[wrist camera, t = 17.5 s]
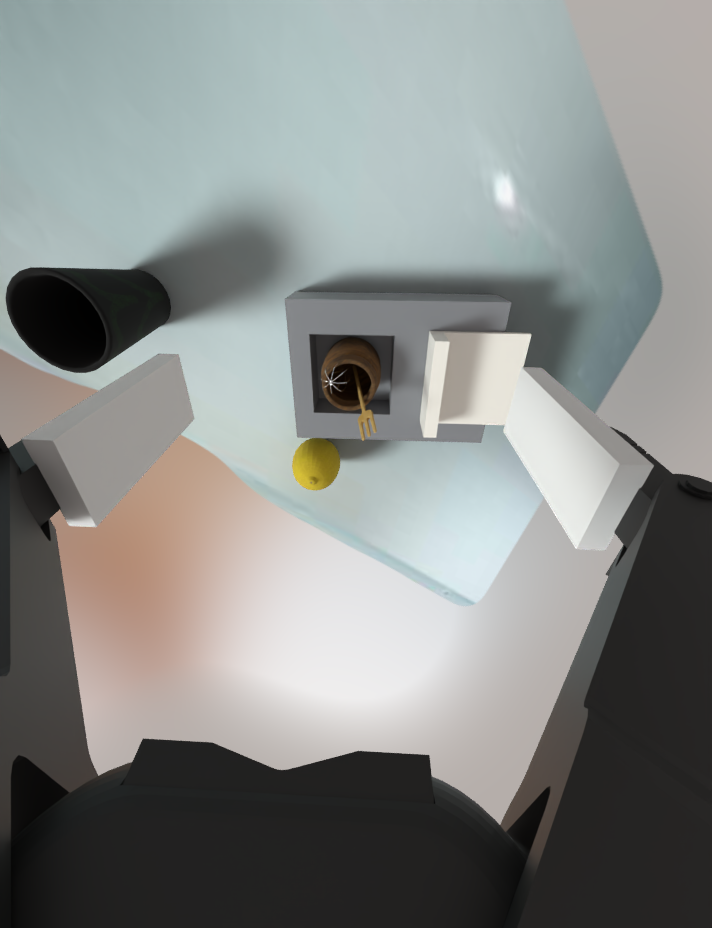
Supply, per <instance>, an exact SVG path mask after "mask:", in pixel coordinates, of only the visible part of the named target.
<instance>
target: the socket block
mask: <svg viewBox="0 0 712 928" xmlns="http://www.w3.org/2000/svg"><path fill="white" fill-rule="evenodd" d="M511 303H512V302H510V301H508V300H506V299H504V298H502V297H500V296H498V295H496V294H435V293H364V292H294V293H293V294H291V295H290V296H288V297H287V298H286V299H285V306H286V317H287V329H288V340H289V351H290V362H291V373H292V384H293V396H294V407H295V418H296V429H297V437H301V438H336V439H362V438H361V433H360V429H359V424H358V418H359V416H360V415H361V414H362V409H358V410H353V411H347V410H342V409H339V408H337V407H335V406H334V405H332V404H331V403H330V402H329V401H328V400H327V398H326V396H325V394H324V392H323V388H322V380H321V371H322V366H323V363H324V360H325V358H326V355H327V353H328V351H329V350H330V348H331V347H332V346H333V345H334V344H335V343H336V342H338V341H339V340H341V339H344V338H348V337H357V338H361V339H364V340H366V341H367V342H369V343H370V344H371V345H372V346H373V347H374V348H375V350H376V351H377V353H378V355H379V359H380V364H381V379H380V384H379V387H378V389H377V391H376V393H375V395H374V397H373V398H372V400H371V401H370V402H369V403H368V404H367V405H366V406H365V408H366V411H367V410H371V411H372V412H373V416H374V420H375V425H376V429H377V432H376V433H374V432H373V428H372V425H371V421H370V419H369V420H368V422H369V427H370V432H371V436H370V437H368V435H367V431H366V427H365V423H363V428H364V434H365V439H370V440H405V441H439V442H474V443H481V441H482V437H483V432H484V427H485V425H481V424H444V423H438V428H437V435H436V438H425V437H423V433H422V429H421V424H420V412H421V403H422V394H423V385H424V376H425V367H426V358H427V349H428V340H429V331H459V332H505V331H506V326H507V321H508V317H509V312H510V308H511Z"/></svg>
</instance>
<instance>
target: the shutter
mask: <svg viewBox="0 0 712 928" xmlns="http://www.w3.org/2000/svg"><path fill="white" fill-rule="evenodd" d="M531 335H532V334H530V333H515V332H459V331H429V340H428V349H427V358H426V367H425V376H424V385H423V394H422V403H421V412H420V424H421V429H422V433H423V437H425V438H436V435H437V428H438V423H444V424H481V425H505V424H506V420H507V417H508V413H509V410H510V406H511V402H512V399H513V395H514V392H515V388H516V385H517V381H518V378H519V374H520V370H521V367H523V366H524V363H525V359H526V355H527V351H528V347H529V343H530V339H531Z"/></svg>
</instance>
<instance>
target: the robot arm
mask: <svg viewBox="0 0 712 928" xmlns="http://www.w3.org/2000/svg"><path fill="white" fill-rule="evenodd" d="M193 420H194V415H193V411H192V407H191V403H190V399H189V395H188V391H187V387H186V383H185V379H184V375H183V371H182V366H181V362H180V358H179V355H178V354H158V355H156V356H155V357H153V358H151V359H150V360H148V361H146V362H145V363H143V364H142V365H140V366H138V367H137V368H135V369H134V370H132V371H130V372H129V373H127V374H125V375H124V376H122V377H121V378H119V379H117V380H116V381H114V382H113V383H111V384H109V385H108V386H106V387H104V388H103V389H101V390H100V391H98V392H96V393H95V394H93V395H92V396H90V397H89V398H87V399H85V400H83V401H82V402H80V403H79V404H77V405H75V406H74V407H72V408H71V409H69V410H67V411H66V412H64V413H62V414H61V415H59V416H58V417H56V418H54V419H53V420H51V421H50V422H48V423H46V424H45V425H43V426H42V427H40V428H38V429H37V430H35V431H34V432H32V433H30V434H29V435H27V436H25V437H24V438H22V439H21V441H19V442H18V443H16V444H14V445H13V446H11V447H10V448H7V446H6V444H5V442H4V441H3V439H2V437H1V436H0V928H712V483H711V482H709V481H706V480H704V479H701V478H698V477H694V476H690V475H683V474H672V473H671V472H670V471H669V470H667V469H666V468H665V467H664V466H663V465H661V464H660V463H659V462H658V461H657V460H655V459H654V458H653V457H652V456H651V455H650V454H646V451H645V450H644V449H642V448H641V447H640V446H637V444H636V443H635V442H634V441H633V440H632V439H631V438H629V437H628V436H627V435H625V434H623V433H622V432H619V431H618V430H616V429H614V428H612V427H609V426H608V425H607V424H606V423H605V422H604V421H602V420H601V419H600V418H599V417H598V416H597V415H595V414H594V413H593V412H592V411H591V410H590V409H589V408H587V407H586V406H585V405H584V404H583V403H582V402H581V401H579V400H578V399H577V398H576V397H575V396H574V395H573V394H571V393H570V392H569V391H568V390H567V389H566V388H564V387H563V386H562V385H561V384H560V383H559V382H558V381H556V380H555V379H554V378H553V377H552V376H551V375H550V374H548V373H547V372H546V371H545V370H544V369H543V368H533V367H521V370H520V374H519V378H518V381H517V385H516V388H515V392H514V395H513V399H512V402H511V406H510V410H509V413H508V417H507V420H506V424H505V427H504V433H505V435H506V436H507V438H508V439H509V441H510V443H511V444H512V446H513V448H514V449H515V451H516V452H517V454H518V456H519V457H520V459H521V460H522V462H523V464H524V465H525V467H526V469H527V470H528V472H529V473H530V475H531V477H532V478H533V480H534V481H535V483H536V485H537V486H538V488H539V490H540V491H541V493H542V494H543V496H544V498H545V499H546V501H547V502H548V504H549V506H550V507H551V509H552V510H553V512H554V514H555V515H556V517H557V519H558V520H559V522H560V524H561V525H562V526H563V528H564V530H565V532H566V533H567V535H568V536H569V538H570V540H571V541H572V543H573V545H574V546H575V548H576V549H582V550H606V548H607V546H608V545H609V543H610V541H611V539H612V538H613V536H614V534H616V535H617V536H618V538H619V539H620V540H621V541H622V543H623V544H624V545H623V547H622V549H621V550H620V552H619V553H618V555H617V557H616V558H615V560H614V562H613V563H612V565H611V566H610V568H609V570H608V571H607V573H606V575H608V576H609V577H608V579H607V581H606V584H605V586H604V588H603V591H602V593H601V596H600V598H599V601H598V603H597V605H596V608H595V610H594V612H593V615H592V617H591V620H590V622H589V625H588V627H587V629H586V632H585V634H584V637H583V639H582V641H581V644H580V646H579V649H578V651H577V653H576V655H575V658H574V660H573V663H572V665H571V667H570V670H569V672H568V675H567V677H566V680H565V682H564V684H563V687H562V689H561V691H560V694H559V696H558V699H557V701H556V703H555V706H554V708H553V711H552V713H551V716H550V718H549V720H548V722H547V725H546V727H545V730H544V732H543V735H542V737H541V739H540V742H539V744H538V747H537V749H536V751H535V754H534V756H533V758H532V761H531V763H530V766H529V768H528V770H527V773H526V775H525V777H524V779H523V781H522V783H521V785H520V787H519V789H518V791H517V793H516V795H515V796H514V798H513V800H512V802H511V804H510V806H509V808H508V810H507V812H506V814H505V816H504V818H503V820H502V823H501V825H499V824H498V823H497V822H496V821H495V819H493V818H492V817H491V816H490V815H489V814H488V813H487V812H486V811H485V810H484V809H483V808H482V807H480V806H479V805H478V804H477V803H476V802H474V801H473V800H472V799H470V798H469V797H468V796H466V795H465V794H464V793H462V792H461V791H459V790H458V789H456V788H454V787H452V786H450V785H449V784H447V783H445V782H443V781H441V780H439V779H436V778H434V777H432V776H431V768H430V758H429V755H418V754H401V753H382V752H364V751H357V752H353V753H349V754H345V755H342V756H338V757H334V758H330V759H326V760H323V761H319V762H315V763H311V764H308V765H304V766H300V767H296V768H292V769H289V770H277V769H274V768H271V767H269V766H266V765H264V764H262V763H259V762H257V761H255V760H252V759H250V758H247V757H245V756H243V755H240V754H238V753H236V752H233V751H231V750H228V749H226V748H224V747H221V746H219V745H217V744H214V743H209V742H190V741H173V740H155V739H143V740H142V742H141V744H140V746H139V749H138V751H137V753H136V755H135V758H134V760H133V762H132V763H128V764H125V765H122V766H120V767H117V768H115V769H112V770H109V771H107V772H105V773H103V774H101V775H100V776H98V774H97V772H96V770H95V768H94V766H93V763H92V761H91V758H90V755H89V751H88V746H87V739H86V733H85V726H84V719H83V712H82V705H81V699H80V692H79V685H78V678H77V671H76V664H75V658H74V652H73V644H72V637H71V631H70V624H69V617H68V610H67V603H66V597H65V590H64V583H63V576H62V569H61V562H60V556H59V549H58V542H57V535H56V529H55V527H54V526H53V524H52V522H51V520H50V518H51V517H52V516H53V515H54V514H55V513H56V512H57V511H58V510H59V509H60V510H61V512H62V514H63V516H64V517H65V519H66V521H67V522H68V525H69V526H83V527H97V526H98V525H99V524H100V523H101V522H102V520H103V519H104V518H105V517H106V516H107V515H108V514H109V513H110V511H111V510H112V509H113V508H114V507H115V506H116V505H117V504H118V503H119V502H120V501H121V499H122V498H123V497H124V496H125V495H126V494H127V493H128V492H129V490H130V489H131V488H132V487H133V486H134V485H135V484H136V483H137V482H138V481H139V479H140V478H141V477H142V476H143V475H144V474H145V473H146V472H147V471H148V470H149V468H150V467H151V466H152V465H153V464H154V463H155V462H156V461H157V460H158V458H159V457H160V456H161V455H162V454H163V453H164V452H165V451H166V450H167V448H168V447H169V446H170V445H171V444H172V443H173V442H174V441H175V440H176V439H177V438H178V436H179V435H180V434H181V433H182V432H183V431H184V430H185V429H186V428H187V426H188V425H189V424H190V423H191V422H192V421H193Z"/></svg>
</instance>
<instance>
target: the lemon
mask: <svg viewBox="0 0 712 928" xmlns="http://www.w3.org/2000/svg"><path fill="white" fill-rule="evenodd" d="M292 468H293V473H294V477H295V479H296V480H297V482H298V483H299V484H300V485H301V486H303V487H304V488H306V489H309V490H321V489H324V488H326V487H328V486H329V485H330V484H331V483H332V482H333V481H334V479H335V478H336V476H337V474H338V471H339V468H340V457H339V453H338V451H337V449H336V447H335V446H334V445H333V444H332V443H331V442H329V441H328V440H326V439H323V438H312V439H309V440H306V441H305V442H304V443H302V444H301V445H300V446H299V448H298V449H297V450H296V452H295V455H294V457H293V465H292Z"/></svg>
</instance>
